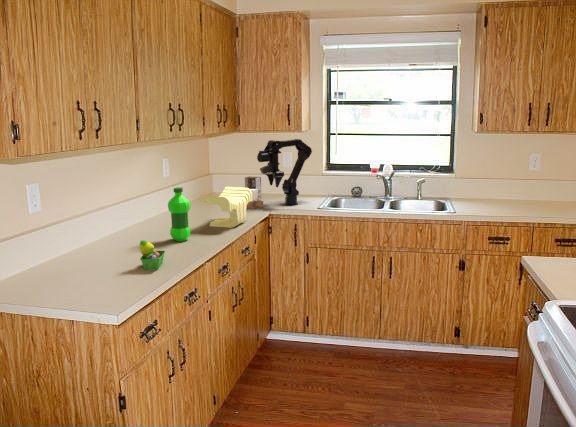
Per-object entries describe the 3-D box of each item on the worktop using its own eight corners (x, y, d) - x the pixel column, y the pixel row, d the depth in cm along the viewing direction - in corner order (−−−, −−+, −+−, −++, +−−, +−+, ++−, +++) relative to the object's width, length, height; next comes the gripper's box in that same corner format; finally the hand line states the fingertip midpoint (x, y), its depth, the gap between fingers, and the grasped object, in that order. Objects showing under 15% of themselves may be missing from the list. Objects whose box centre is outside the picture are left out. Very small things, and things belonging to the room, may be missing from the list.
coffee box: (261, 201, 350) (261, 176, 347) (256, 202, 345) (255, 178, 341) (250, 200, 355) (250, 176, 351) (244, 201, 349) (244, 177, 346)
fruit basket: (160, 271, 207) (158, 243, 205) (137, 271, 207) (135, 243, 205) (166, 262, 218) (164, 235, 216) (144, 262, 218) (142, 236, 216)
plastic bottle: (195, 238, 257) (193, 186, 252) (183, 243, 247) (181, 190, 242) (177, 236, 260) (175, 185, 255) (165, 241, 251) (162, 189, 246)
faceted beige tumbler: (258, 199, 334) (258, 188, 332) (258, 201, 327) (258, 190, 325) (247, 199, 333) (247, 188, 332) (247, 201, 327) (246, 190, 325)
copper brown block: (257, 204, 337) (257, 198, 337) (263, 207, 328) (263, 201, 328) (242, 206, 333) (242, 200, 333) (248, 209, 324) (247, 202, 324)
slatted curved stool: (230, 231, 269) (229, 197, 265) (202, 229, 273) (200, 195, 270) (252, 219, 296) (252, 187, 293) (226, 217, 301) (225, 186, 298)
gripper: (255, 160, 329) (256, 185, 333) (267, 163, 313) (267, 189, 316) (272, 159, 334) (272, 183, 337) (284, 162, 317) (284, 188, 320)
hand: (274, 186), depth 328 cm, fingers open, 9 cm apart
